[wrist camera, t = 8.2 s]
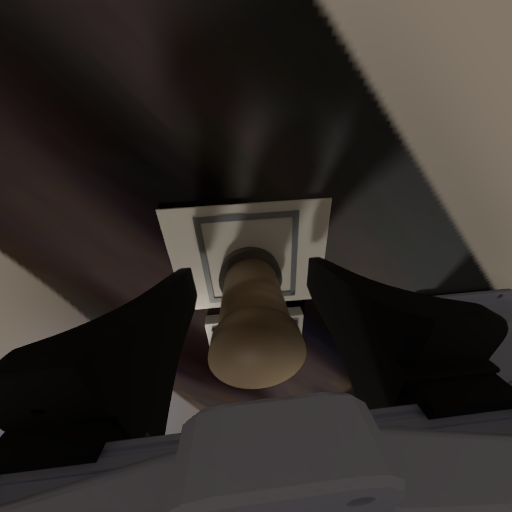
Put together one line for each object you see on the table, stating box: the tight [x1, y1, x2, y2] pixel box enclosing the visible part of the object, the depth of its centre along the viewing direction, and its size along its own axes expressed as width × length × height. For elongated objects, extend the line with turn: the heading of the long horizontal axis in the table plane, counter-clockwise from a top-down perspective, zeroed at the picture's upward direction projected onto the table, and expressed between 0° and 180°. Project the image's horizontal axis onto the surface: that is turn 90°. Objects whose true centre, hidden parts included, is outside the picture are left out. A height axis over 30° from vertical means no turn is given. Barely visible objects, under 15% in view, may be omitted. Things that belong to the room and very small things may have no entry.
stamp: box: [208, 247, 306, 389], centre depth 11 cm, size 4×4×7 cm
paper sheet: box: [156, 198, 332, 310], centre depth 13 cm, size 11×8×1 cm
